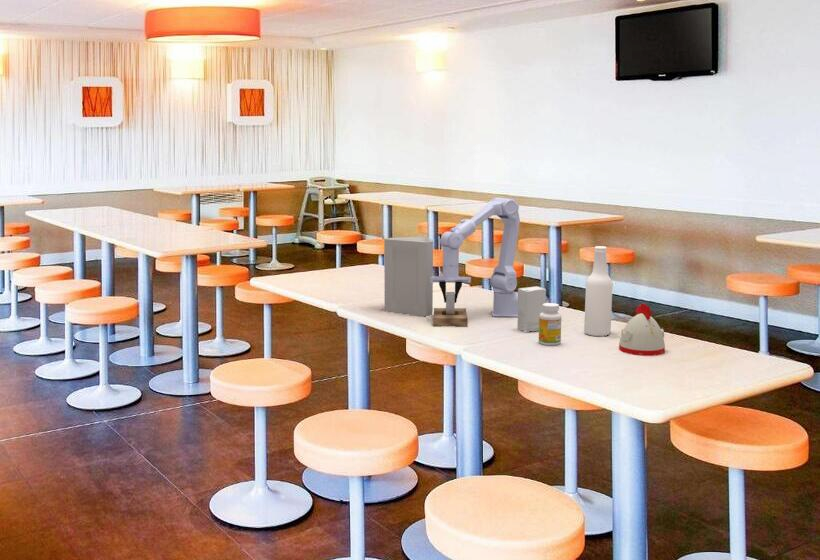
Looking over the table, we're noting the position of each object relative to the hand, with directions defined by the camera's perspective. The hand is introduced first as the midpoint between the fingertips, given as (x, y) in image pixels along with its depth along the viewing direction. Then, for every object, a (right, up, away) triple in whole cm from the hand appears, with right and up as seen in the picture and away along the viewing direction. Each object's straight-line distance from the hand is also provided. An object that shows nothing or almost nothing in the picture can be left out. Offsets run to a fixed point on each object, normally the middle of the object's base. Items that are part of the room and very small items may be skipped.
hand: (450, 302), depth 313 cm
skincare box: (+28, -10, -12) cm, 32 cm away
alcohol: (+49, -11, -18) cm, 54 cm away
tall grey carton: (-13, -4, +19) cm, 23 cm away
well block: (0, -7, +1) cm, 7 cm away
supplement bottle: (+31, -13, -31) cm, 46 cm away
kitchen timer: (+59, -14, -40) cm, 72 cm away
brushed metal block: (0, -5, +1) cm, 5 cm away
